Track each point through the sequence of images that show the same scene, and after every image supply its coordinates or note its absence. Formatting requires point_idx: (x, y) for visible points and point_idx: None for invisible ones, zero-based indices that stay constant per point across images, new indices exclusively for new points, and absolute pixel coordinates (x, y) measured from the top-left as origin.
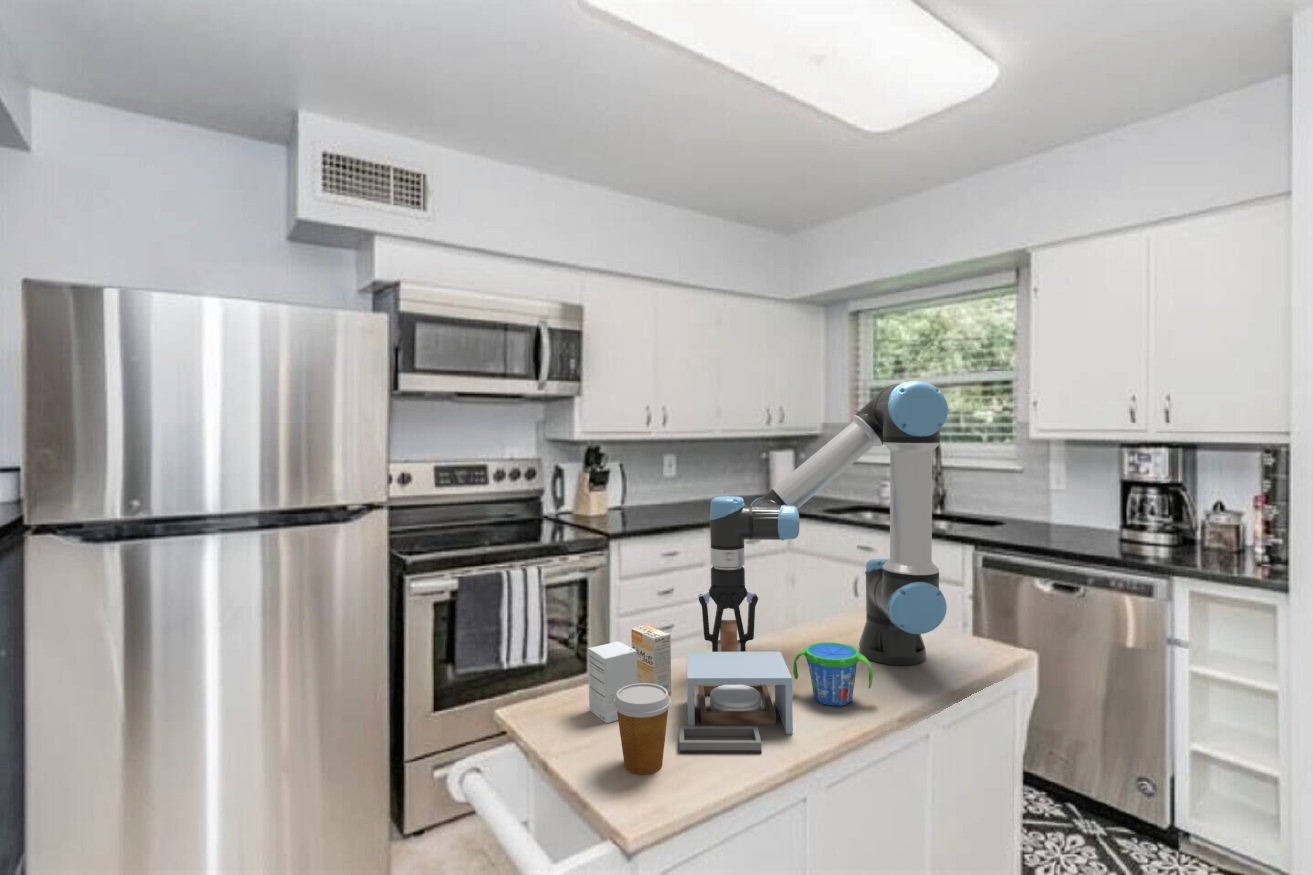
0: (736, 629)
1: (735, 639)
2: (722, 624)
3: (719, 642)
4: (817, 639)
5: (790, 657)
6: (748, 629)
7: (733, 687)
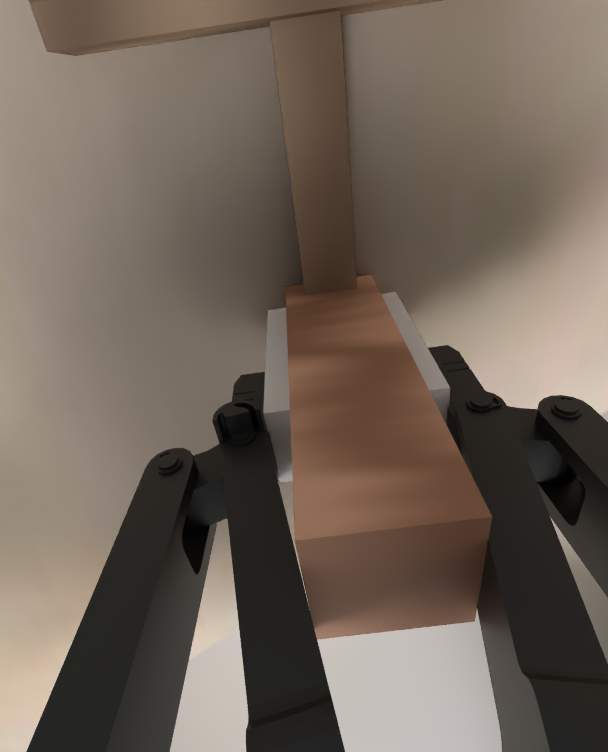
0: (298, 491)
1: (305, 420)
2: (472, 521)
3: None
4: (32, 660)
5: (82, 533)
6: (180, 526)
7: None
